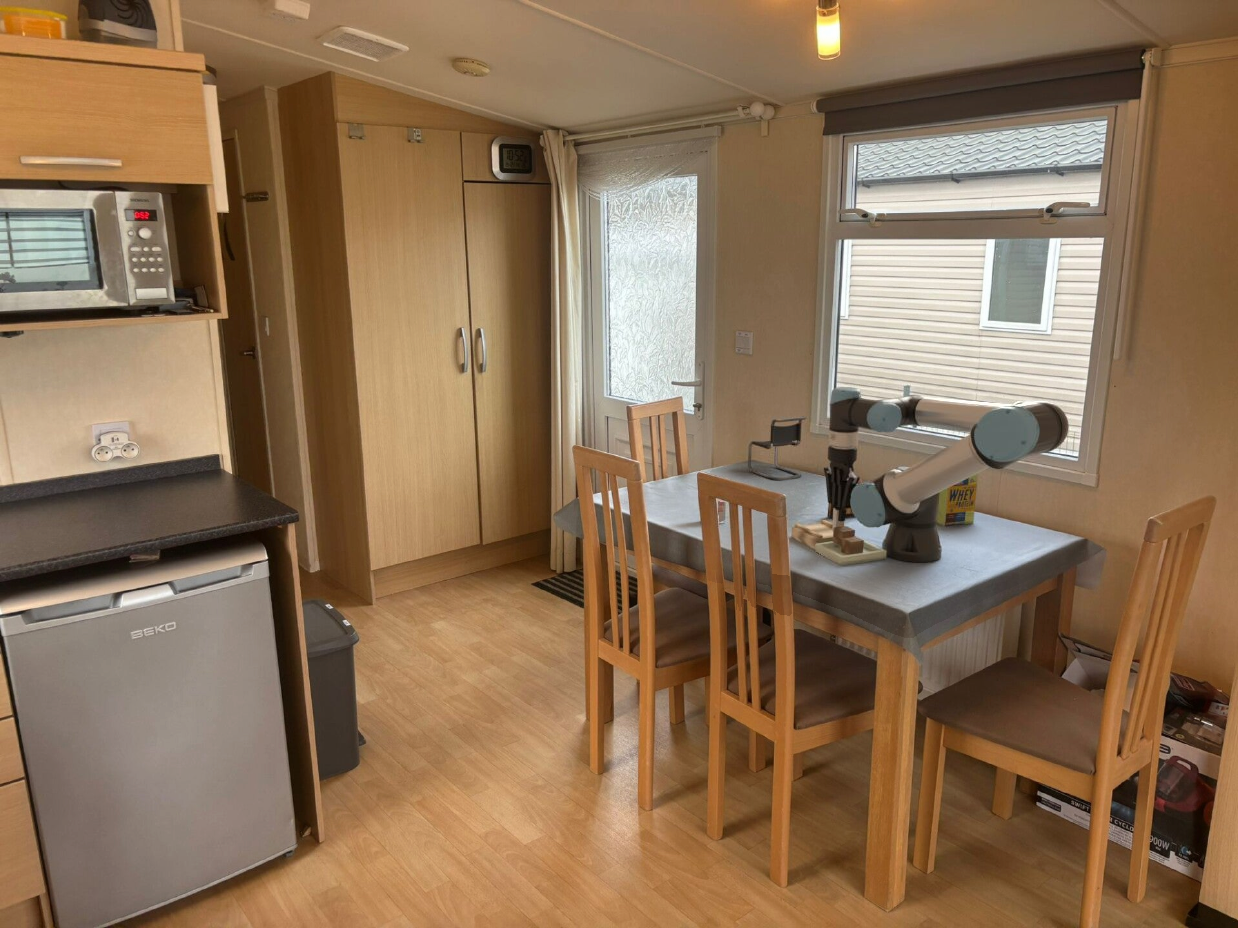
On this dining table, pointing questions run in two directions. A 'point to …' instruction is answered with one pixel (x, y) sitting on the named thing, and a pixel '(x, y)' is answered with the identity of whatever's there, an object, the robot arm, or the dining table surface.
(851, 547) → the walnut block front
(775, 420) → the chair
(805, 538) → the slot board
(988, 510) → the dining table surface
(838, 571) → the dining table surface
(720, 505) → the tea bag
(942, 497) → the protein box
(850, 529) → the walnut block rear
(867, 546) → the sage tray
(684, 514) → the dining table surface
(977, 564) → the dining table surface
